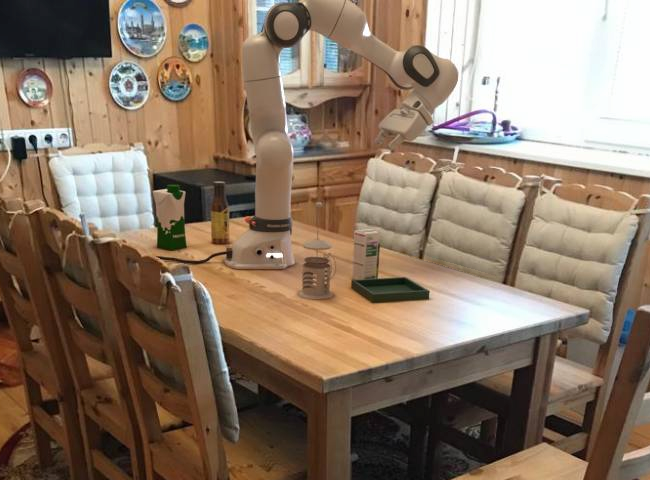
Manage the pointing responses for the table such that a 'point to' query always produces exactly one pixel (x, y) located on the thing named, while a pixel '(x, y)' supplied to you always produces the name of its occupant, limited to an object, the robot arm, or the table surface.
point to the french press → (317, 269)
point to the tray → (389, 289)
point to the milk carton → (170, 217)
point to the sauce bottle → (219, 215)
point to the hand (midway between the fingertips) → (382, 145)
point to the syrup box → (366, 254)
